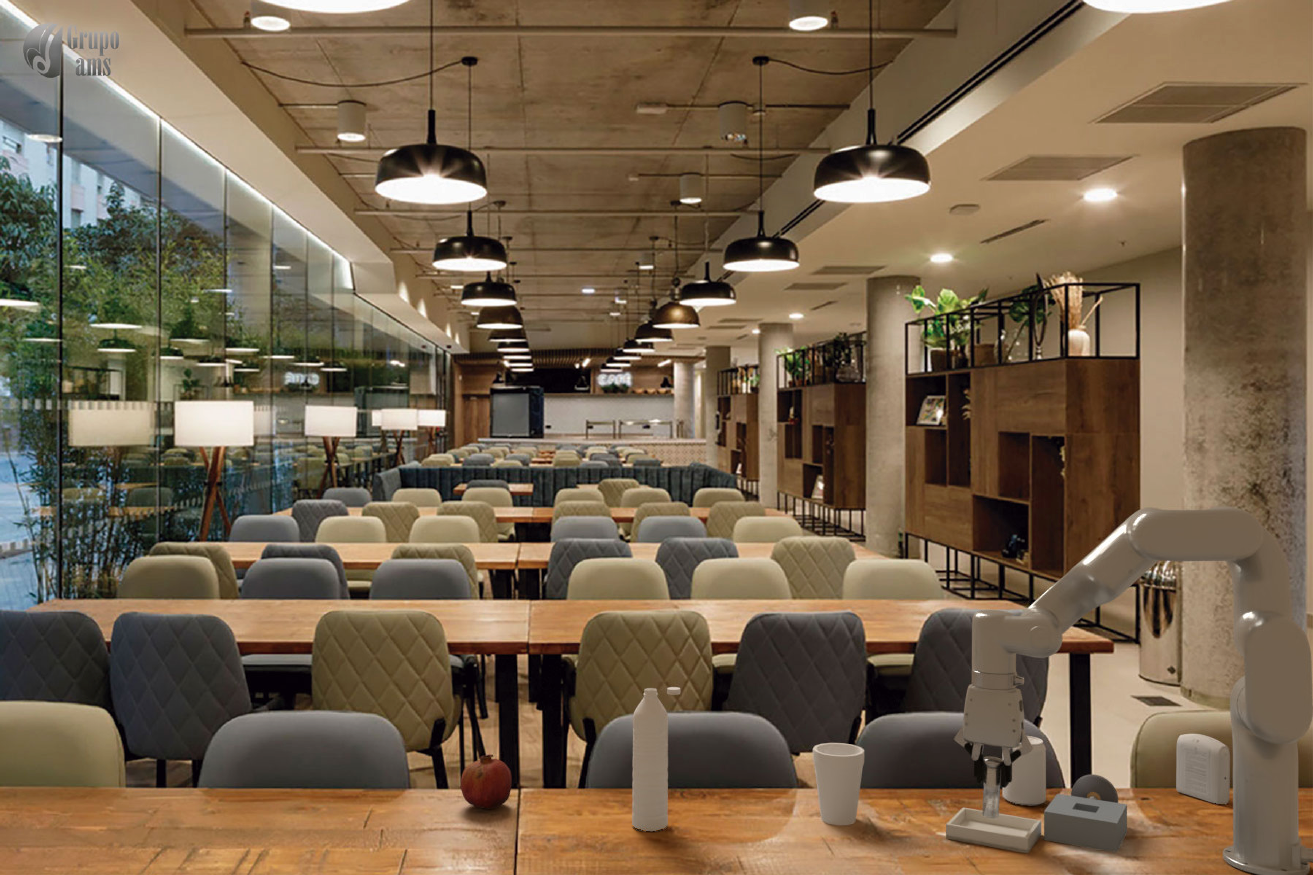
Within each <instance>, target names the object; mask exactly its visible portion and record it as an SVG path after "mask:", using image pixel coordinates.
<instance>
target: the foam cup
mask: <svg viewBox="0 0 1313 875" xmlns="http://www.w3.org/2000/svg"><path fill="white" fill-rule="evenodd" d="M812 762H813V764H814V766H813V767H814V772H815V781H816V789H817V798H818V805H819V813H820V820H822V822H823V823H826V824H828V825H834V826H848V825H849V826H850V825H852V824H854V823H855V822H856V820H857V819H856V818H857V815H858V814H857V813H858V805H859V801H860V800H859V798H860V791H861V783H862V777H863V776H862V774H863V767H864V764H865V749H864V748H863V747H861V746H858V745H855V744H849V743H841V742H827V743H820V744H816V745H814V746H813V748H812Z"/></svg>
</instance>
